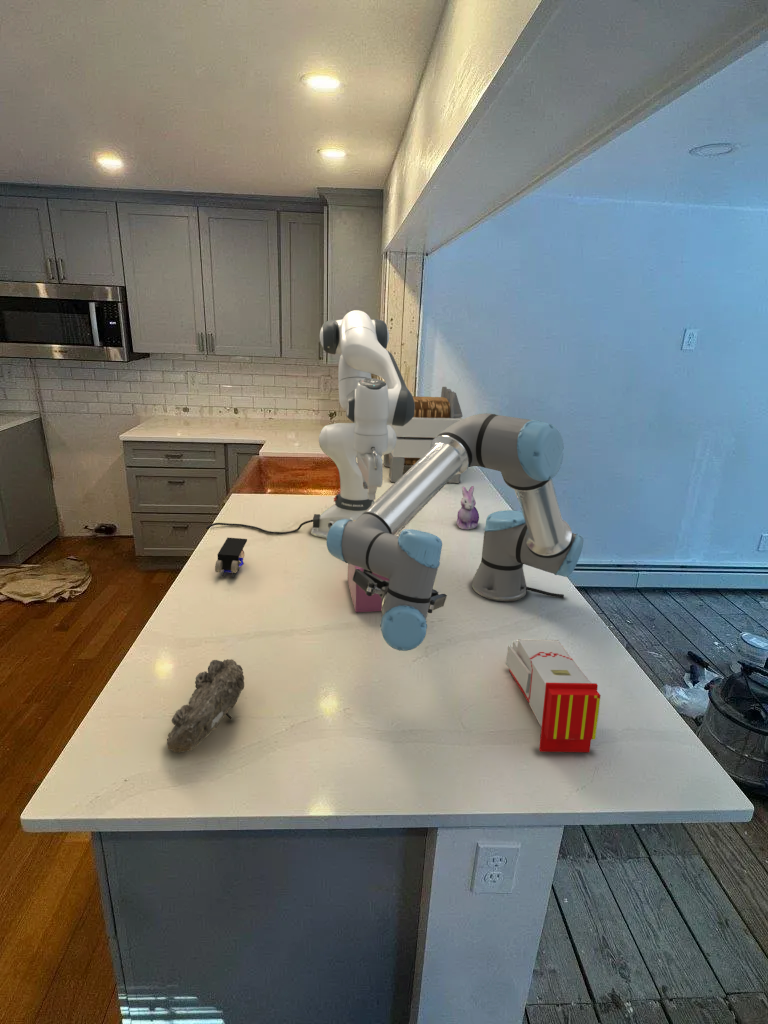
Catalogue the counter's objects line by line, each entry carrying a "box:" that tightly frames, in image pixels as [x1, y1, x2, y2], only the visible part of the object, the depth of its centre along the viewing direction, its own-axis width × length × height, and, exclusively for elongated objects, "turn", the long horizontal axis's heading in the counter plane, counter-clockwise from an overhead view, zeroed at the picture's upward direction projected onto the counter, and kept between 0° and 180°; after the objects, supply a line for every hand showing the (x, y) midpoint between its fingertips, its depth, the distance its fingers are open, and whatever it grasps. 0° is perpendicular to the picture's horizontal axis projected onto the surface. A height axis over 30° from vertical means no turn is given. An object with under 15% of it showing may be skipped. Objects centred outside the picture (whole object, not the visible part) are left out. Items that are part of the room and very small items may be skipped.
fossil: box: [166, 658, 245, 754], centre depth 106 cm, size 22×10×15 cm
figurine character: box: [214, 537, 248, 578], centre depth 166 cm, size 7×8×15 cm
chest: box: [347, 563, 389, 613], centre depth 154 cm, size 18×10×11 cm, turn 10°
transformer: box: [382, 386, 463, 484], centre depth 268 cm, size 34×33×41 cm
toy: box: [505, 638, 602, 753], centre depth 114 cm, size 12×13×30 cm
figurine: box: [456, 485, 480, 530], centre depth 208 cm, size 9×10×15 cm
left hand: (368, 493), depth 153 cm, fingers open, 8 cm apart
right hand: (398, 578), depth 128 cm, fingers open, 13 cm apart
